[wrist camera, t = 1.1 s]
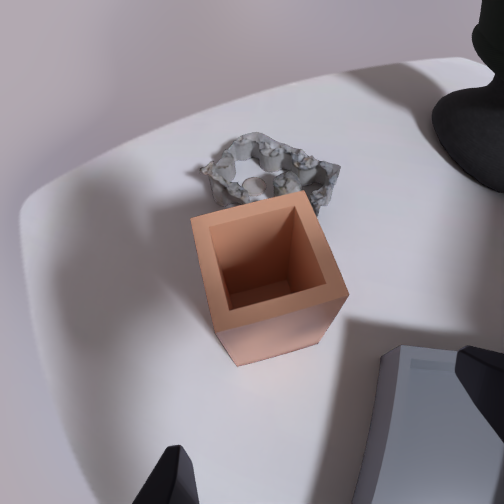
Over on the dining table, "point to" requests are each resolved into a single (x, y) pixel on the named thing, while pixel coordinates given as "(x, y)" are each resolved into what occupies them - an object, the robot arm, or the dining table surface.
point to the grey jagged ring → (271, 160)
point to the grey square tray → (428, 437)
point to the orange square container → (268, 276)
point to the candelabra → (478, 107)
